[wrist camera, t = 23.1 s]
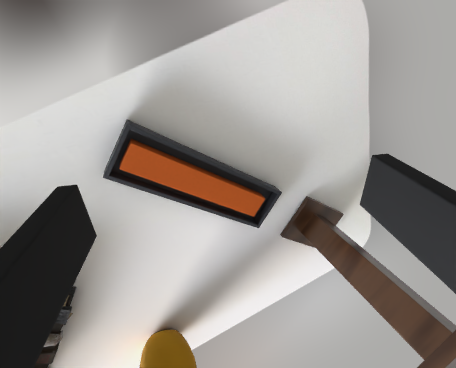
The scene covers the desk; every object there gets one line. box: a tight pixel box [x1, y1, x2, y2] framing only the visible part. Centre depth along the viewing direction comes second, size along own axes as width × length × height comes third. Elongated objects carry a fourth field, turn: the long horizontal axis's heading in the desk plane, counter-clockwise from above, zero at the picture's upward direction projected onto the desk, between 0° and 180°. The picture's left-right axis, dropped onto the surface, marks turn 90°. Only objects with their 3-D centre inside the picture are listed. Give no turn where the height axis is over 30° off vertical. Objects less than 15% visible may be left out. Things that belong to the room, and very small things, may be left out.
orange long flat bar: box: [120, 139, 265, 217], centre depth 40 cm, size 24×4×2 cm, turn 58°
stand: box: [281, 197, 456, 368], centre depth 43 cm, size 14×10×30 cm
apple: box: [140, 330, 196, 368], centre depth 50 cm, size 11×11×13 cm
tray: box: [103, 120, 282, 228], centre depth 41 cm, size 28×8×2 cm, turn 59°
